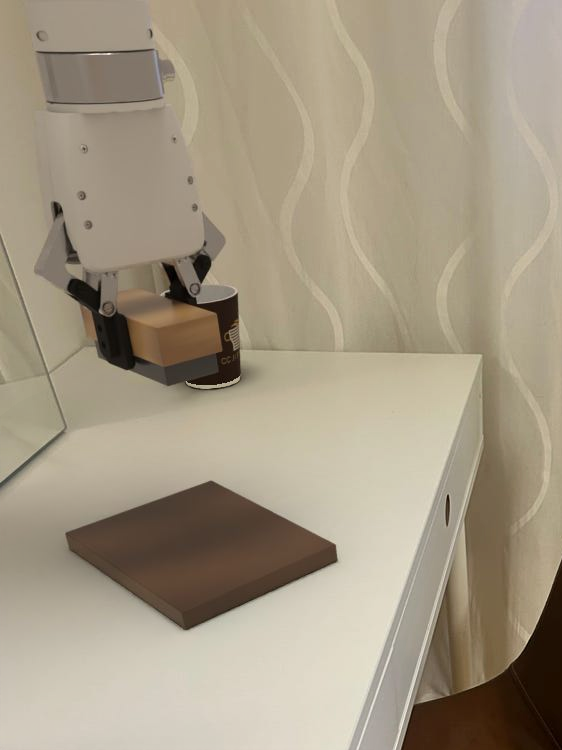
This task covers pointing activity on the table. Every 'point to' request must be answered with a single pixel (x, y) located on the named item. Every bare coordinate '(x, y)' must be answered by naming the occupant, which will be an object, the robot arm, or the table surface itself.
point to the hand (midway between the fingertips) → (154, 354)
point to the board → (200, 551)
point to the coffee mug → (222, 331)
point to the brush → (165, 336)
